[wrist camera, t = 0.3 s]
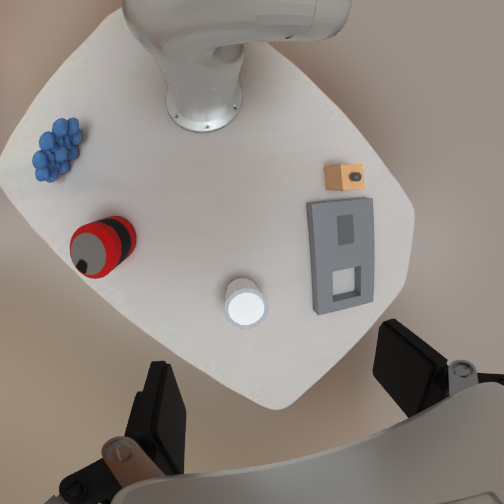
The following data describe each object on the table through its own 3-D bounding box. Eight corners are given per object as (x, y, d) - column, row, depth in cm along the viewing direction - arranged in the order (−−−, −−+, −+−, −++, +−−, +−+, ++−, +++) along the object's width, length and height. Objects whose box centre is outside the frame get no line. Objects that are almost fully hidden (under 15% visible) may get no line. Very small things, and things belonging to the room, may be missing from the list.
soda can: (91, 244, 42) (58, 262, 30) (109, 207, 41) (77, 214, 29) (124, 267, 43) (99, 292, 32) (144, 230, 43) (122, 245, 31)
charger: (324, 167, 44) (344, 164, 37) (343, 166, 45) (367, 163, 37) (326, 189, 45) (347, 190, 38) (346, 188, 46) (369, 189, 38)
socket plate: (306, 203, 45) (311, 204, 43) (365, 197, 47) (373, 198, 44) (313, 309, 50) (318, 315, 48) (366, 297, 51) (373, 301, 49)
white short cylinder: (228, 269, 46) (231, 283, 39) (266, 279, 47) (274, 294, 41) (217, 305, 47) (218, 323, 40) (254, 314, 49) (260, 332, 42)
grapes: (77, 116, 36) (43, 99, 24) (101, 132, 37) (69, 117, 26) (45, 170, 37) (6, 168, 25) (67, 188, 39) (29, 191, 27)
